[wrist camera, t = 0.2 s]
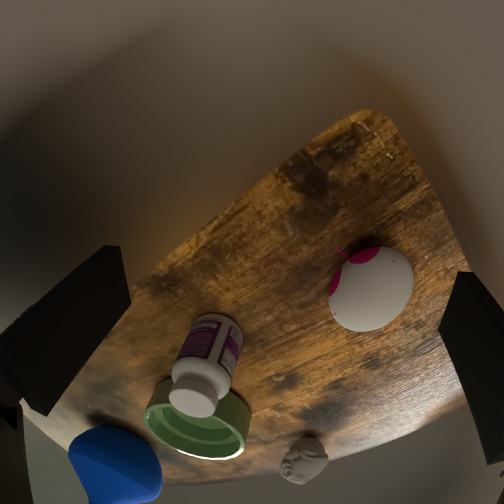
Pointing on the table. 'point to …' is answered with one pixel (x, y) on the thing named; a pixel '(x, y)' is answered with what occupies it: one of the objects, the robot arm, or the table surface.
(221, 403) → the green bowl
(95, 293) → the robot arm
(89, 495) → the vase
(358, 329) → the stress ball
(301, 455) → the frog figurine
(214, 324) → the pill bottle
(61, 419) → the table surface
